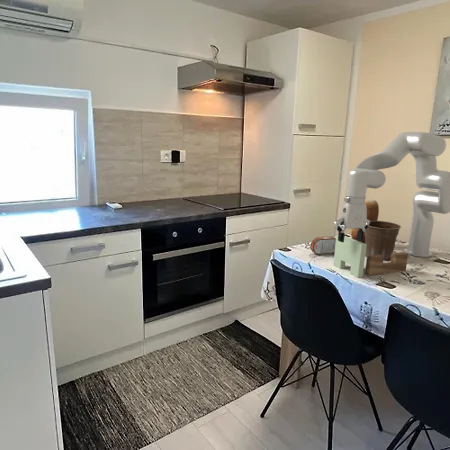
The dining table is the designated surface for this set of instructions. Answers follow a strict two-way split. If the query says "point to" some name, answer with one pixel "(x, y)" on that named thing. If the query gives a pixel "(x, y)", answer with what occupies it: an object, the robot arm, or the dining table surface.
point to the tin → (323, 245)
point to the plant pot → (381, 238)
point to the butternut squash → (368, 217)
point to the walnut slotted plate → (386, 264)
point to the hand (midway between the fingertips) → (350, 240)
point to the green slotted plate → (350, 255)
